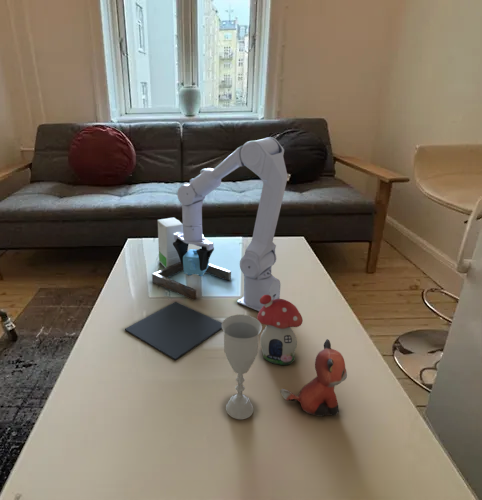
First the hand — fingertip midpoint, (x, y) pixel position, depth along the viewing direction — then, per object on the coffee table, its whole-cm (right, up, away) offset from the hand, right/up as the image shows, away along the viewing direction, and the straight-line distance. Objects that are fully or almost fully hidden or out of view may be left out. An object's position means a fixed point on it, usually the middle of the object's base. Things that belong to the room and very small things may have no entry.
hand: (193, 266), depth 119 cm
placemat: (-5, -15, -22) cm, 27 cm away
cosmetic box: (-7, 0, +15) cm, 17 cm away
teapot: (+1, -3, +1) cm, 3 cm away
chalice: (+8, -25, -47) cm, 54 cm away
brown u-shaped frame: (0, -5, +2) cm, 5 cm away
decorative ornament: (+18, -19, -33) cm, 42 cm away
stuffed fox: (+21, -24, -46) cm, 56 cm away
